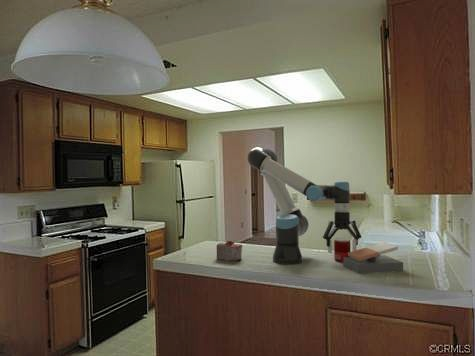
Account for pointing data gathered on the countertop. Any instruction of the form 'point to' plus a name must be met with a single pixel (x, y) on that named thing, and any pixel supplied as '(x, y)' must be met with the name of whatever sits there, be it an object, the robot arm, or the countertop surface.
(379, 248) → the rocker switch
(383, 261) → the switch base
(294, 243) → the robot arm
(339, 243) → the canned food
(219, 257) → the food item
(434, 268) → the countertop surface
